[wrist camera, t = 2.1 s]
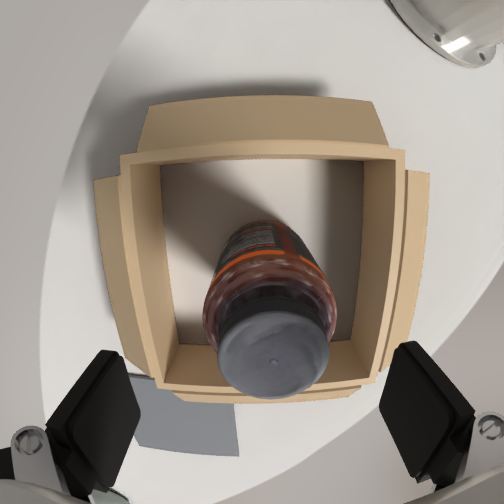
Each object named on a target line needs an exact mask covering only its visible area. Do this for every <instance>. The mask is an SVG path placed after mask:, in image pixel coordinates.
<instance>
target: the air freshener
mask: <svg viewBox="0 0 504 504" xmlns="http://www.w3.org/2000/svg"><path fill="white" fill-rule="evenodd" d="M91 495H92V497H93V500H94V502H95V504H130V503H129V502H128V501H127V500H126V499H124V498H123V497H121V496H120V495H118V494H116V493H114V492H112V491H109V490H108V491H107V493H104V492H101V491H98V490H95V489H93V491H92V493H91Z"/></svg>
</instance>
